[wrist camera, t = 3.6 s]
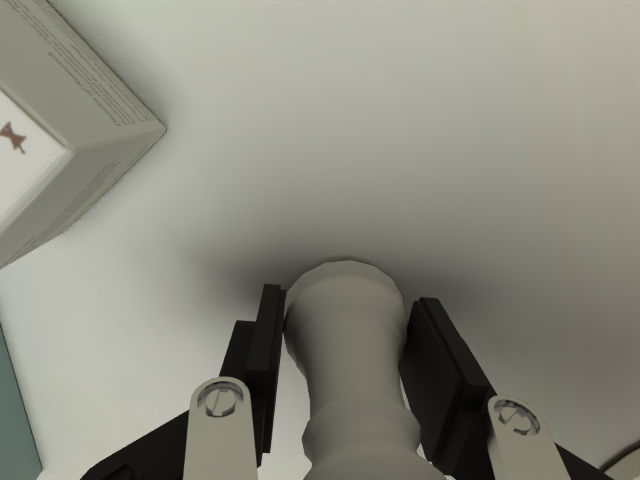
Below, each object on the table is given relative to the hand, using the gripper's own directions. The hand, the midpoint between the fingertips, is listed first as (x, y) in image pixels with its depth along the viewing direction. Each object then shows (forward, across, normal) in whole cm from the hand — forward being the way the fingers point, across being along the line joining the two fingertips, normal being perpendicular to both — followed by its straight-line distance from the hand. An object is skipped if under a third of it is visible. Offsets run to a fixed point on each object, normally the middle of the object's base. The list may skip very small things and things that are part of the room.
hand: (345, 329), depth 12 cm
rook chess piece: (+2, 0, 0) cm, 2 cm away
